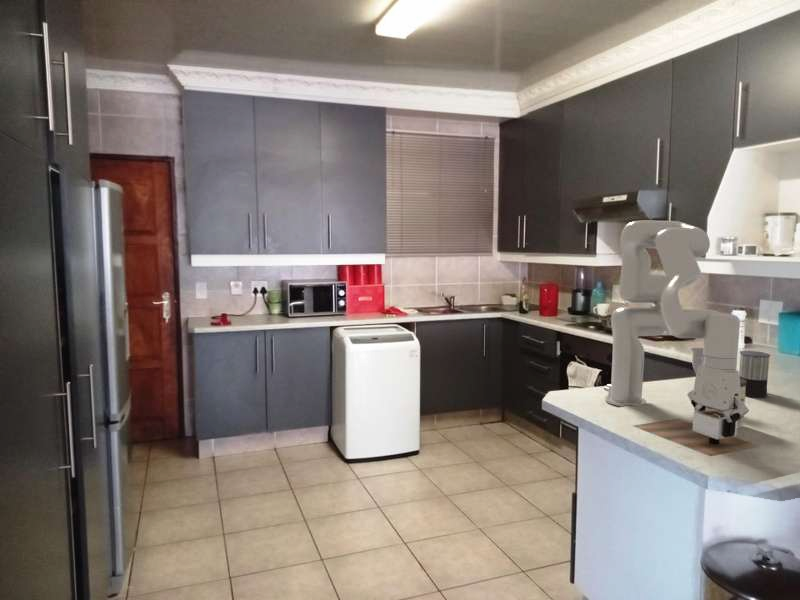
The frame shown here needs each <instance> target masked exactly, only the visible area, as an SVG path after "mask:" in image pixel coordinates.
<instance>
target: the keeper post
mask: <svg viewBox="0 0 800 600" xmlns="http://www.w3.org/2000/svg"><path fill="white" fill-rule="evenodd" d="M711 416H713V417H716V418H721V417H720V416H719V415H717V414H713V415H711ZM719 441H720V439H718V440H717V439H714V438H712V437H709V443H711V444H719Z"/></svg>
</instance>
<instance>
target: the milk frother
mask: <svg viewBox="0 0 800 600" xmlns="http://www.w3.org/2000/svg"><path fill="white" fill-rule="evenodd" d="M739 354H740V356H739V370H738V372H739V378H741V379H744V380H746V381H747V384H746V391H745V397H749V398H755V399H757V398H761V399H762V398H767V397H768V379H769V367H770V366H769V365H770V357H771V354H770V353H767V352H764V351H757V350H741V351H739Z"/></svg>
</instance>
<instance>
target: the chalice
mask: <svg viewBox="0 0 800 600" xmlns="http://www.w3.org/2000/svg"><path fill="white" fill-rule="evenodd" d="M691 352H692V358H691V364H692V368H693V370H694V373H695V375H696V374H697V371H698V368H699V366H700V365H702V361H703V360H701V359H700V355H703V347H692V348H691Z"/></svg>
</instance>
